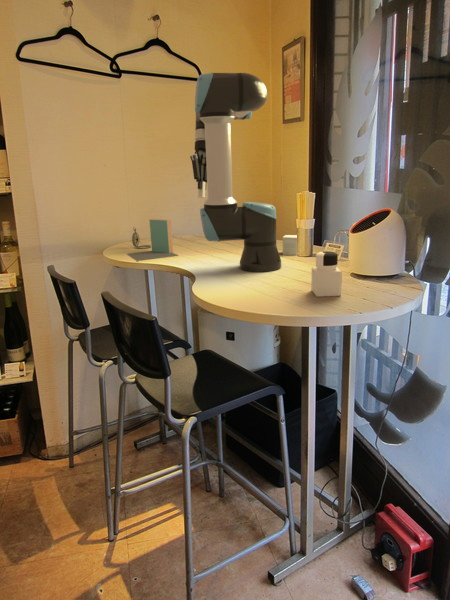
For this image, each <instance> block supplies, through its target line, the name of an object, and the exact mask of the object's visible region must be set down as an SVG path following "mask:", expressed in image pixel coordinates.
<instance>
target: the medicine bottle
mask: <svg viewBox="0 0 450 600" xmlns="http://www.w3.org/2000/svg"><path fill="white" fill-rule="evenodd" d="M338 256H339V255H338V253H336V252H335V251H330V250H329V251H327V250H325V251H319V252H317V253H316V254H315V266H313V267H311V288H310V289H311V292H312V293H313V294H314V295H315V297H316V298H317V297H318V298H319V297H337V296H338V297H341V296H342V281H343V280H342V279H343V271H341V269H339V268H338V265H339V264H338V260H339V259H338V258H339V257H338Z"/></svg>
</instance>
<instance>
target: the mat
mask: <svg viewBox="0 0 450 600" xmlns="http://www.w3.org/2000/svg"><path fill="white" fill-rule="evenodd" d="M126 255H127V256H128V257H130V258H131V259H133V260H135V261H136V262H137V263H139V262H140V261H149V260H156V259H165V258H172V257H180V255H179V254H177V253H174V252H171V253H163V252H153V251H152V250H149V251H139V252H138V251H137V252H132V253H131V252H130V253H129V252H128V253H126Z"/></svg>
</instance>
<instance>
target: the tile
mask: <svg viewBox="0 0 450 600" xmlns="http://www.w3.org/2000/svg"><path fill="white" fill-rule="evenodd" d="M149 230H150V241H151V245H150V246H151V251H153V252H163V253H171V252H172V253H174V248H173V247H174V246H173V234H172V233H173V232H172V231H173V230H172V219H163V218H162V219H161V218H152V219H151V218H150V219H149Z"/></svg>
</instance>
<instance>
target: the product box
mask: <svg viewBox="0 0 450 600" xmlns="http://www.w3.org/2000/svg"><path fill="white" fill-rule="evenodd" d="M297 235H298V234H285V235H284V236H282V256H298V255H297Z"/></svg>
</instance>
